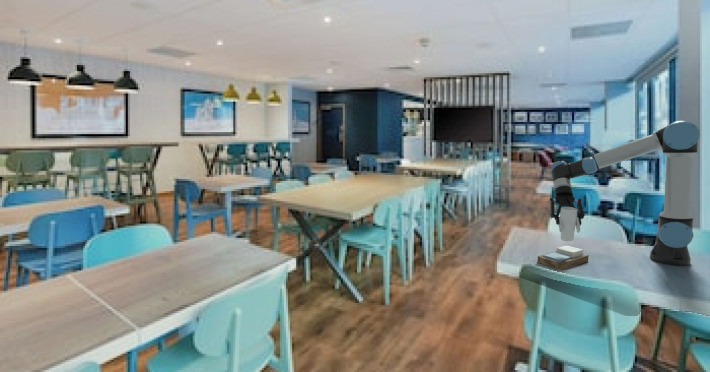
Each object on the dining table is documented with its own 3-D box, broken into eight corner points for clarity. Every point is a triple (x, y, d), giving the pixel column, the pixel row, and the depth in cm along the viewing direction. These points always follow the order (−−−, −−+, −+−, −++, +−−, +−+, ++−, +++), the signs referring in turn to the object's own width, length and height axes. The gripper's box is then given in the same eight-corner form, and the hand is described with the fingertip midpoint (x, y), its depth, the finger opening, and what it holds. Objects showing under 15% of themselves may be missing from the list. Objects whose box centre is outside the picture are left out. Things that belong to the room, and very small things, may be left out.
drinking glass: (577, 242, 184) (579, 210, 182) (561, 242, 185) (563, 209, 183) (572, 238, 190) (574, 207, 188) (556, 238, 192) (558, 206, 189)
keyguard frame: (588, 261, 190) (588, 255, 189) (561, 270, 179) (561, 263, 178) (564, 254, 199) (564, 248, 199) (537, 262, 188) (537, 256, 188)
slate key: (570, 263, 185) (570, 256, 185) (559, 267, 181) (560, 260, 180) (553, 259, 192) (554, 252, 191) (543, 262, 188) (543, 255, 187)
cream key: (582, 256, 190) (583, 249, 190) (572, 259, 186) (573, 252, 185) (566, 252, 197) (566, 245, 196) (556, 254, 193) (556, 248, 192)
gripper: (583, 194, 197) (591, 236, 184) (539, 193, 202) (544, 233, 189) (587, 185, 191) (596, 227, 178) (542, 184, 196) (548, 225, 183)
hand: (569, 230), depth 183 cm, fingers closed on drinking glass, 6 cm apart
